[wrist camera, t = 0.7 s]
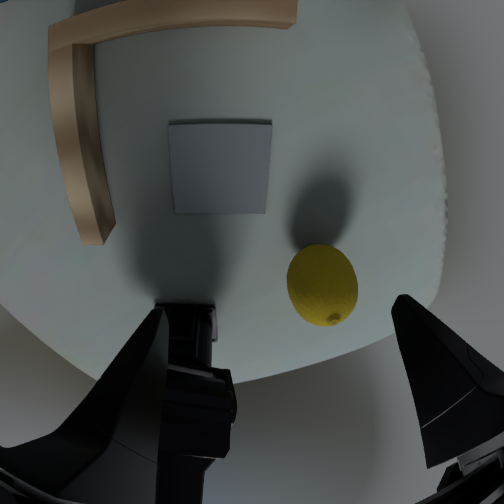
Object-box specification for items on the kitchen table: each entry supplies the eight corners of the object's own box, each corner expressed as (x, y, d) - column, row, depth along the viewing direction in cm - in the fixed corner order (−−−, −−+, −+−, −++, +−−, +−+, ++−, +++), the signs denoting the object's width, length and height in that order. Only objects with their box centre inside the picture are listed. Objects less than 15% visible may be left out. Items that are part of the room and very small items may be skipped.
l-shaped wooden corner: (269, 222, 22) (274, 245, 20) (96, 224, 21) (82, 245, 19) (288, 4, 12) (298, -7, 9) (71, 27, 11) (48, 26, 8)
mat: (264, 211, 22) (265, 213, 21) (175, 211, 21) (175, 213, 21) (271, 124, 17) (272, 125, 17) (169, 124, 17) (168, 125, 16)
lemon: (328, 215, 22) (362, 284, 16) (347, 259, 25) (376, 326, 19) (269, 243, 24) (282, 318, 17) (295, 282, 27) (311, 352, 20)
